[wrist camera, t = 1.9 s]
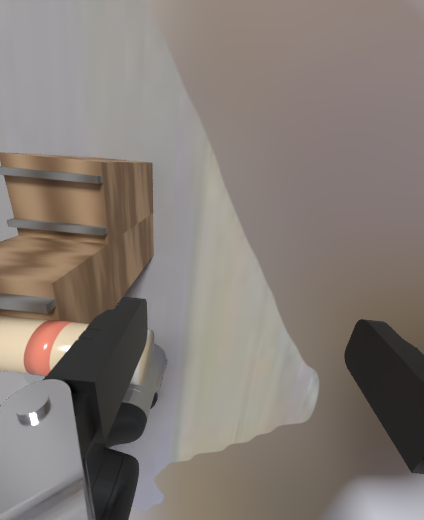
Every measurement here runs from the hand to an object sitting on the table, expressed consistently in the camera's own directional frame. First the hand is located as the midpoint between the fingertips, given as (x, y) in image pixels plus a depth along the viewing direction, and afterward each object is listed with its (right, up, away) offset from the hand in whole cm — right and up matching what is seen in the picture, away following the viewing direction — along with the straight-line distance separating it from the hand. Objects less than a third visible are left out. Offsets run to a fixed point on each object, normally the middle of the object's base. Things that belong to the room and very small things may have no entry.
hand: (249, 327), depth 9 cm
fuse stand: (-20, +13, +41) cm, 48 cm away
